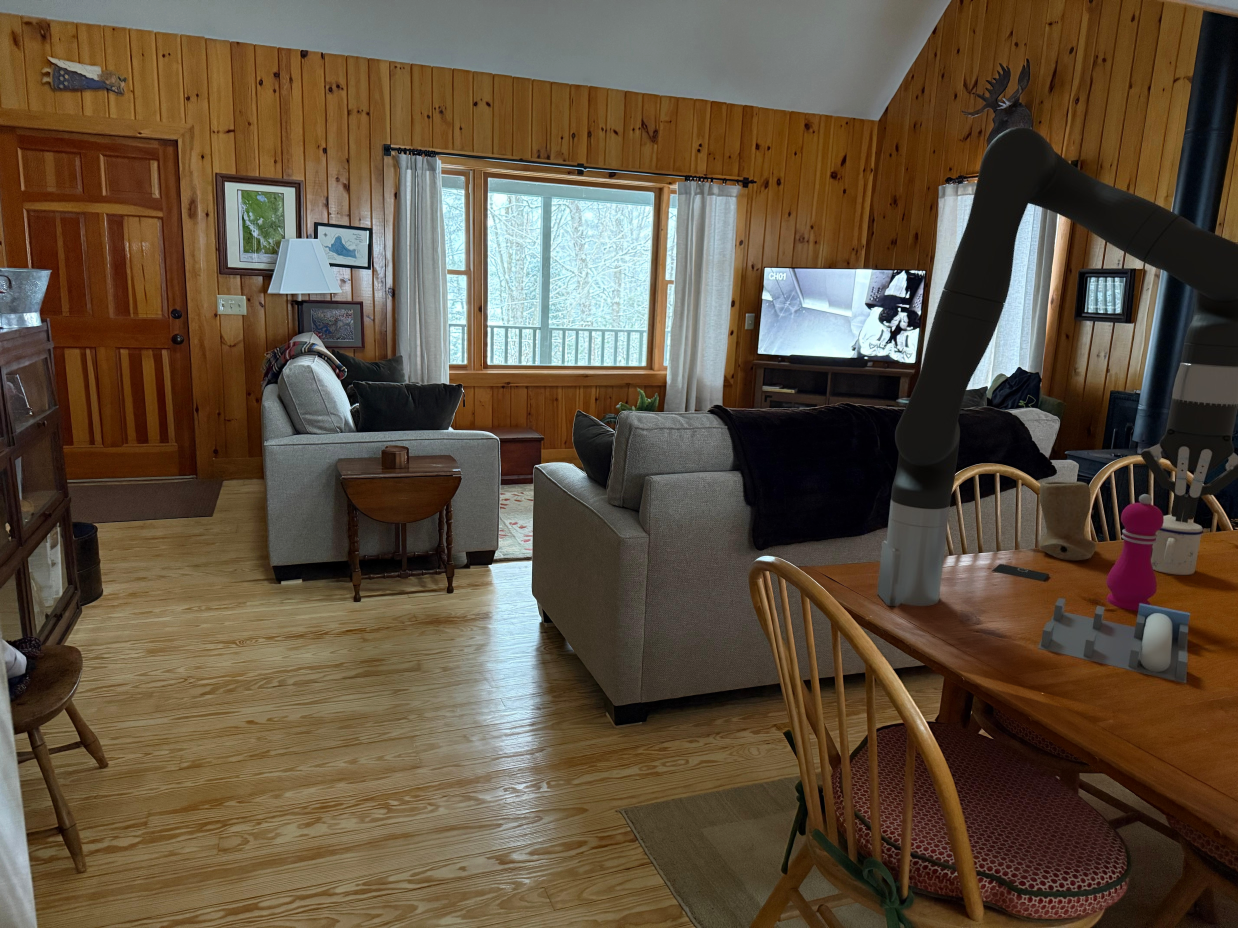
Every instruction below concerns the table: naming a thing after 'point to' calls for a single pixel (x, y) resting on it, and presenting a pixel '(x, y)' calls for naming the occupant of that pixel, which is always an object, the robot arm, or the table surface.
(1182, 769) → the table surface
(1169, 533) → the teacup with lid
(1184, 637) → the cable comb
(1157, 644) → the white rounded capsule
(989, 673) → the table surface
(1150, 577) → the pepper mill
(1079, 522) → the sheepskin slipper boot
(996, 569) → the cell phone
